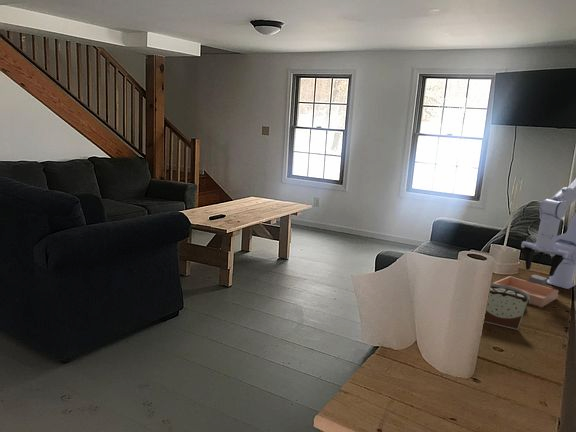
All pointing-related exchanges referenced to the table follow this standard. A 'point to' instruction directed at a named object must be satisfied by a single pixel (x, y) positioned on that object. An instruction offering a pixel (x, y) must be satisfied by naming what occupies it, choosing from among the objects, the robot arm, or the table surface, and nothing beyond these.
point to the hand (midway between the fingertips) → (539, 272)
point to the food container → (506, 306)
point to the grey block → (538, 280)
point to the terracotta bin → (531, 290)
